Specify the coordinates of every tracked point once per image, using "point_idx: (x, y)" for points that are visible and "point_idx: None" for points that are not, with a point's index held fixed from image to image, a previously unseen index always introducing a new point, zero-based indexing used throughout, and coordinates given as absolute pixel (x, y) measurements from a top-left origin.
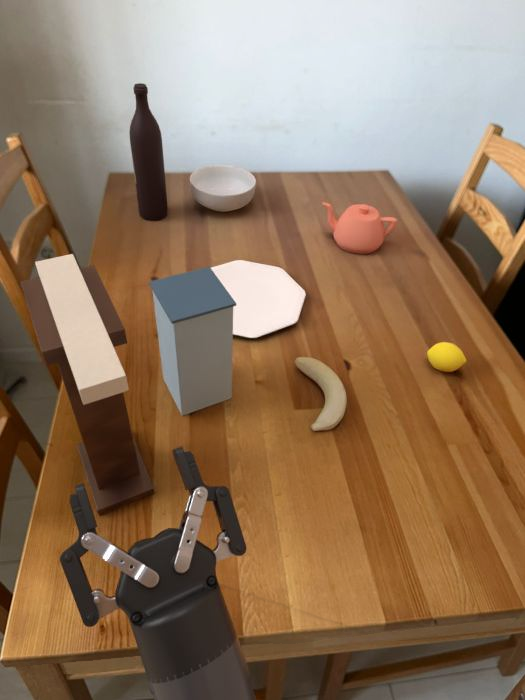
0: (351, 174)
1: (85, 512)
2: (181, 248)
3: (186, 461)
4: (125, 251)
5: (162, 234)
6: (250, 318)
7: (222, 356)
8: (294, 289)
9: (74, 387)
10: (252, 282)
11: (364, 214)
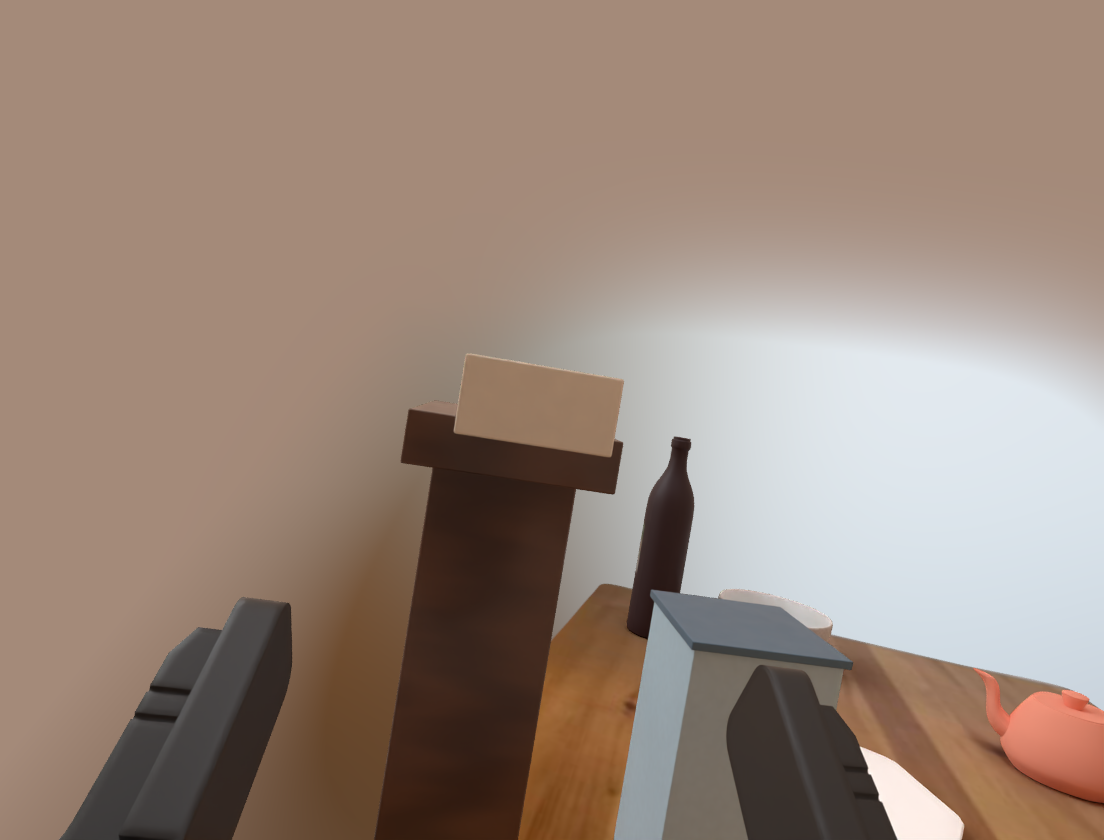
0: (1007, 677)
1: (193, 719)
2: None
3: (823, 733)
4: (590, 658)
5: None
6: None
7: None
8: (932, 806)
9: (429, 630)
10: None
11: (1077, 710)
